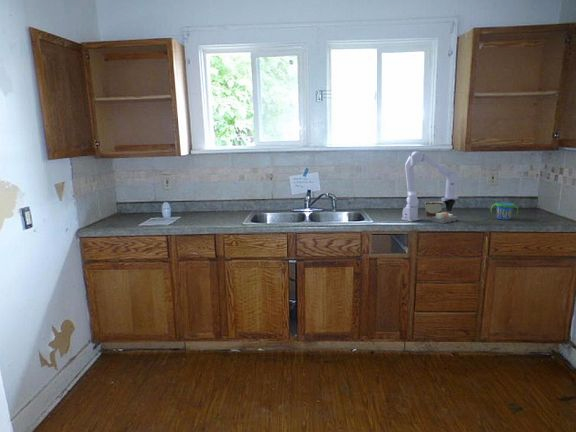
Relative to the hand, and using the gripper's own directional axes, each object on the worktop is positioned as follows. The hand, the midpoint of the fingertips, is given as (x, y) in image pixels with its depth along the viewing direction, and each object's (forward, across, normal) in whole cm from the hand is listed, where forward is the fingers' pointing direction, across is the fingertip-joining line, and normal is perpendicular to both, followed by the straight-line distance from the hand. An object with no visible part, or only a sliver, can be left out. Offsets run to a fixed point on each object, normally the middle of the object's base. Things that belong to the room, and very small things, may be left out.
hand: (448, 211), depth 249 cm
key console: (+6, -4, 0) cm, 7 cm away
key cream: (+6, 0, 0) cm, 6 cm away
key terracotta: (+4, -5, 0) cm, 6 cm away
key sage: (+4, -9, 0) cm, 10 cm away
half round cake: (+6, +3, +15) cm, 16 cm away
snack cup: (+6, +30, -19) cm, 36 cm away
